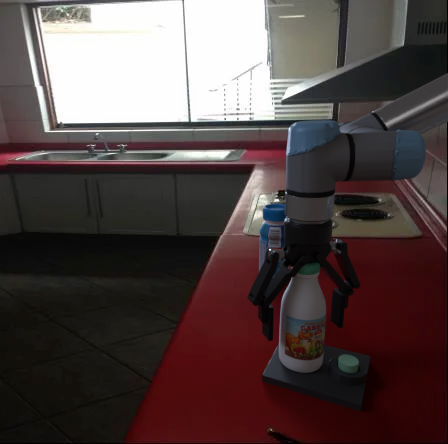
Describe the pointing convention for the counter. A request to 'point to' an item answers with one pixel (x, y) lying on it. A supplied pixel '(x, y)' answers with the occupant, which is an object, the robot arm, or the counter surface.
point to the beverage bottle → (272, 231)
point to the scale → (323, 378)
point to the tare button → (348, 363)
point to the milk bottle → (303, 322)
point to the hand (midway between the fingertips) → (302, 330)
